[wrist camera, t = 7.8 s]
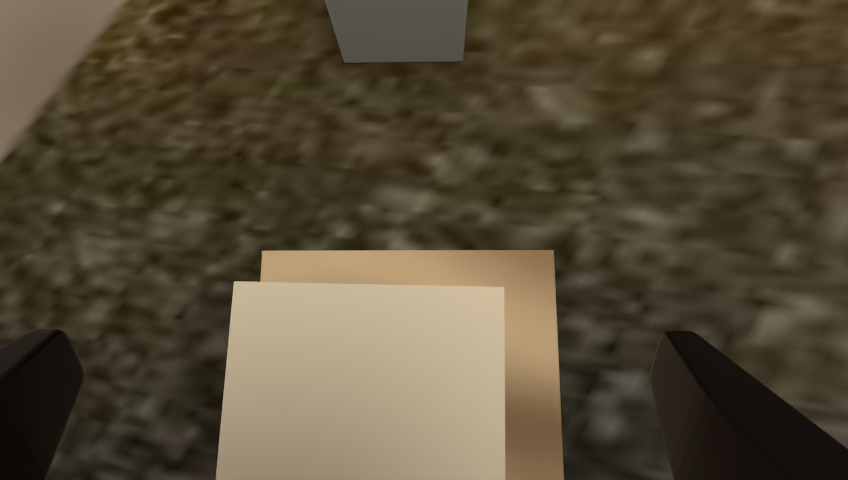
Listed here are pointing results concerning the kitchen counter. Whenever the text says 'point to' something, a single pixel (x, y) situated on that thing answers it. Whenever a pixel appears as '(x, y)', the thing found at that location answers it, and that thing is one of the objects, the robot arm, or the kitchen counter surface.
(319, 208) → the kitchen counter surface
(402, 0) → the ticket block
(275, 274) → the coaster
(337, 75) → the kitchen counter surface
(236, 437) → the beige upright block
